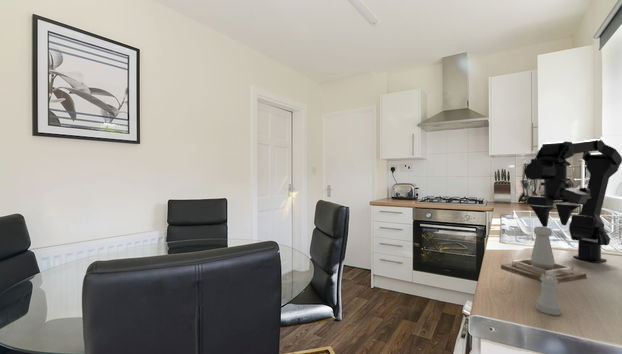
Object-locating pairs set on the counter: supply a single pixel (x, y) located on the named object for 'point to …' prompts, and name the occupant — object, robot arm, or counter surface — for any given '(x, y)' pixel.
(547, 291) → the rook chess piece
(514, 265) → the collar board
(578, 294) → the counter surface
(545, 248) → the salt shaker
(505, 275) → the counter surface
